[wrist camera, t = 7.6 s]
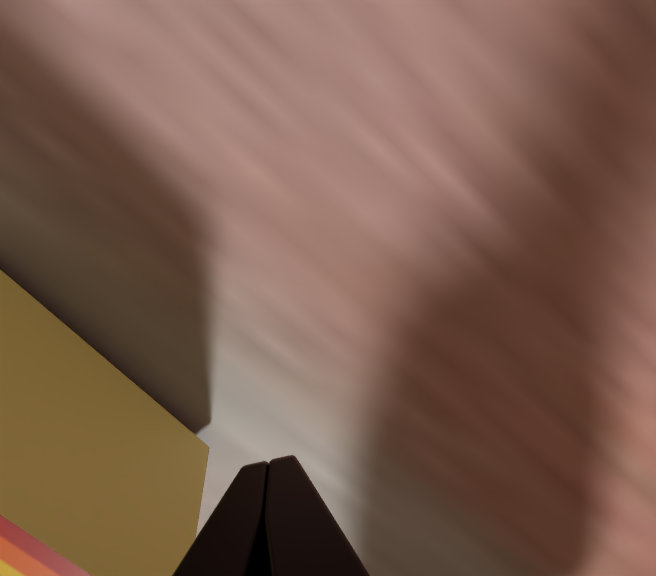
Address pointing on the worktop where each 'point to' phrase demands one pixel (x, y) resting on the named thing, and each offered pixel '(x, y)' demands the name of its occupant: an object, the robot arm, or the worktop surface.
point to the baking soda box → (86, 458)
